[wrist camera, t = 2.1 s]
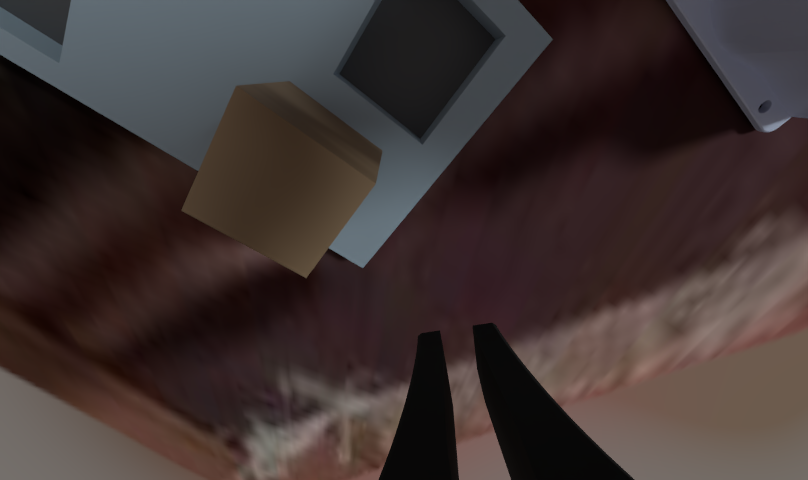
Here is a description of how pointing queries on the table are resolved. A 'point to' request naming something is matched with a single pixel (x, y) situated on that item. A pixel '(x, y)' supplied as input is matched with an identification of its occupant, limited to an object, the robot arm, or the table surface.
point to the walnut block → (282, 174)
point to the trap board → (289, 74)
